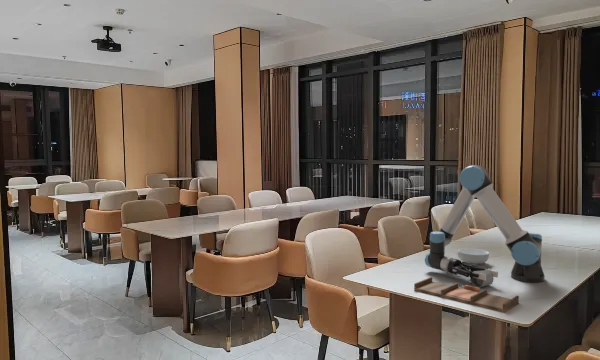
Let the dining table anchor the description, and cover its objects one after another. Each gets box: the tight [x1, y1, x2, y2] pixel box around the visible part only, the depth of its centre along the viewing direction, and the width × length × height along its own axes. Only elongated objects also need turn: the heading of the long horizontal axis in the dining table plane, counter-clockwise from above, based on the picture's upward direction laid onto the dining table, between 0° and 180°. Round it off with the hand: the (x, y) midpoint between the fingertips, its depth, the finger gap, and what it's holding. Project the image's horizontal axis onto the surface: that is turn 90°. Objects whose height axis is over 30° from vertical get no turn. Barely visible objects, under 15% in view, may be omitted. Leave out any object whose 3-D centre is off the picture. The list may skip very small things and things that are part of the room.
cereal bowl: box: [457, 247, 490, 266], centre depth 257 cm, size 17×17×7 cm
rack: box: [413, 277, 520, 313], centre depth 199 cm, size 41×16×3 cm, turn 45°
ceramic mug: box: [468, 270, 495, 289], centre depth 215 cm, size 11×8×8 cm
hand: (491, 276), depth 210 cm, fingers closed on ceramic mug, 8 cm apart
